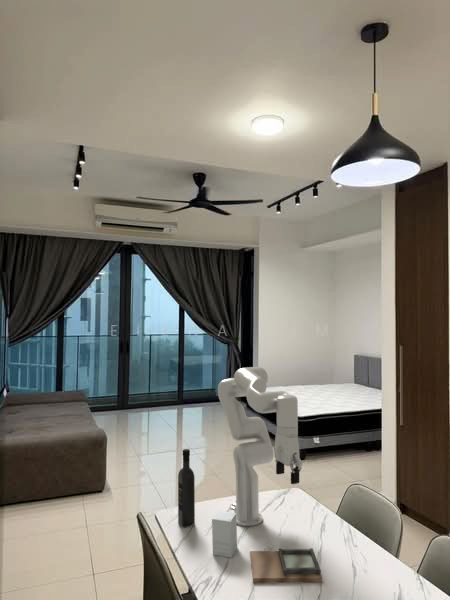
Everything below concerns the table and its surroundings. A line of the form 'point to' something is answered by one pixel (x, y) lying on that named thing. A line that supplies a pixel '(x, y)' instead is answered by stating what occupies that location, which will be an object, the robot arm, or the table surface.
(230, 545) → the supplement box
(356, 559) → the table surface
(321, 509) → the table surface
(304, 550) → the board
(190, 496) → the wine bottle
